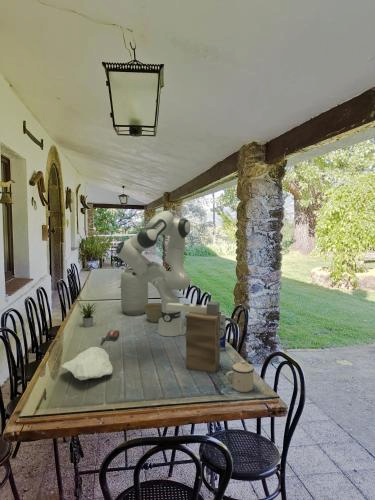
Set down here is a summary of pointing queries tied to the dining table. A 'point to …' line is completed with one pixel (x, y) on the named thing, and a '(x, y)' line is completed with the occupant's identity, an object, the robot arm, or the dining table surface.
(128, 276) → the vase
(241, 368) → the teacup with lid
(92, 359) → the crumpled cloth
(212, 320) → the stand
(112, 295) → the dining table surface
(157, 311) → the planter bowl
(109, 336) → the walkie-talkie
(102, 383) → the dining table surface
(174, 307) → the power strip
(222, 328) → the milk carton
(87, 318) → the house plant
